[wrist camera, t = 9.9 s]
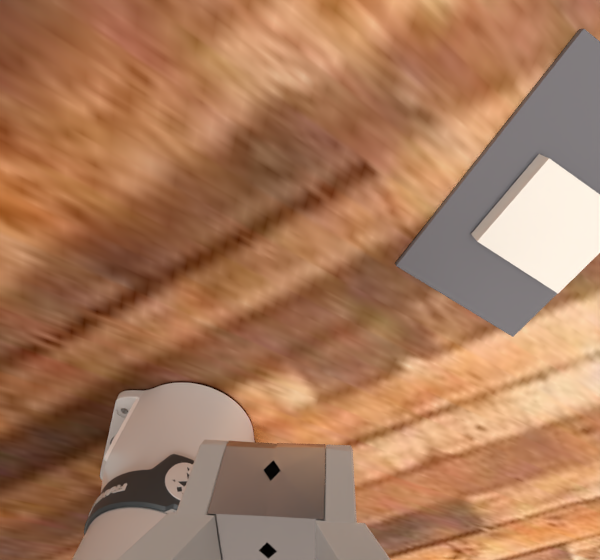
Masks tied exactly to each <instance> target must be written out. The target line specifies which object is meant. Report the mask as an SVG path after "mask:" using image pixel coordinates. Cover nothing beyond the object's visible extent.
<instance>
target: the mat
mask: <svg viewBox="0 0 600 560" xmlns="http://www.w3.org/2000/svg"><path fill="white" fill-rule="evenodd" d="M539 154H540V155H543V156H545V157H547V158H550V159H551V160H552V161H554V162H555V163H557V164H558V165H559V166H561V167H562V168H564V169H565V170H566V171H568V172H569V173H571V174H572V175H573V176H575V177H576V178H577V179H579V180H580V181H582V182H583V183H584V184H586V185H587V186H589V187H590V188H591V189H593V190H594V191H596V192H597V193H598V194H600V41H598V40H597V39H596V38H595V37H593V36H592V35H591V34H590V33H588V32H587V31H586V30H585V29H579V31H578V32H577V33H576V34H575V36H574V37H573V38H572V40H571V41H570V42H569V43H568V45H567V46H566V47H565V48H564V50H563V51H562V52H561V54H560V55H559V56H558V57H557V59H556V60H555V61H554V62H553V64H552V65H551V66H550V67H549V69H548V70H547V71H546V73H545V74H544V75H543V76H542V78H541V79H540V80H539V81H538V83H537V84H536V85H535V87H534V88H533V89H532V90H531V92H530V93H529V94H528V95H527V97H526V98H525V99H524V101H523V102H522V103H521V104H520V106H519V107H518V108H517V109H516V111H515V112H514V113H513V114H512V116H511V117H510V118H509V120H508V121H507V122H506V123H505V125H504V126H503V127H502V128H501V130H500V131H499V132H498V134H497V135H496V136H495V137H494V139H493V140H492V141H491V142H490V144H489V145H488V146H487V147H486V149H485V150H484V151H483V153H482V154H481V155H480V156H479V158H478V159H477V160H476V161H475V163H474V164H473V165H472V167H471V168H470V169H469V170H468V172H467V173H466V174H465V175H464V177H463V178H462V179H461V181H460V182H459V183H458V184H457V186H456V187H455V188H454V189H453V191H452V192H451V193H450V194H449V196H448V197H447V198H446V200H445V201H444V202H443V203H442V205H441V206H440V207H439V208H438V210H437V211H436V212H435V214H434V215H433V216H432V217H431V219H430V220H429V221H428V222H427V224H426V225H425V226H424V227H423V229H422V230H421V231H420V233H419V234H418V235H417V236H416V238H415V239H414V240H413V241H412V243H411V244H410V245H409V247H408V248H407V249H406V250H405V252H404V253H403V254H402V255H401V257H400V258H399V259H398V261H397V262H396V263H395V264H396V266H397V267H399V268H401V269H402V270H404V271H405V272H407V273H409V274H410V275H412V276H414V277H415V278H417V279H419V280H420V281H422V282H424V283H425V284H427V285H429V286H430V287H432V288H433V289H435V290H437V291H438V292H440V293H442V294H443V295H445V296H447V297H448V298H450V299H452V300H453V301H455V302H457V303H458V304H460V305H462V306H463V307H465V308H466V309H468V310H470V311H471V312H473V313H475V314H476V315H478V316H480V317H481V318H483V319H485V320H486V321H488V322H490V323H491V324H493V325H494V326H496V327H498V328H499V329H501V330H503V331H504V332H506V333H508V334H509V335H511V336H514V335H515V334H516V333H517V332H518V331H519V330H520V329H521V328H523V327H524V326H525V325H526V324H527V323H528V322H529V321H530V320H531V319H532V318H533V317H534V316H535V315H536V314H537V313H538V312H539V311H540V310H541V309H542V308H543V307H544V306H545V305H546V304H547V303H548V302H549V301H550V300H551V299H552V298H553V297H554V296H555V295H556V294H557V293H556V292H555V291H553V290H552V289H550V288H549V287H547V286H545V285H544V284H542V283H541V282H539V281H538V280H536V279H535V278H533V277H531V276H530V275H528V274H527V273H525V272H524V271H522V270H521V269H519V268H518V267H516V266H514V265H513V264H511V263H510V262H508V261H507V260H505V259H504V258H502V257H500V256H499V255H497V254H496V253H494V252H493V251H491V250H490V249H488V248H487V247H485V246H483V245H482V244H480V243H479V242H477V241H476V239H475V238H474V237H473V236H472V235H471V233H472V232H473V231H474V230H475V229H476V228H477V226H478V225H479V224H480V223H481V222H482V220H483V219H484V218H485V217H486V216H487V215H488V213H489V212H490V211H491V210H492V209H493V208H494V206H495V205H496V204H497V203H498V202H499V200H500V199H501V198H502V197H503V196H504V195H505V193H506V192H507V191H508V190H509V189H510V188H511V186H512V185H513V184H514V183H515V182H516V180H517V179H518V178H519V177H520V176H521V175H522V173H523V172H524V171H525V170H526V169H527V168H528V166H529V165H530V164H531V163H532V162H533V160H534V159H535V158H536V157H537V156H538V155H539Z"/></svg>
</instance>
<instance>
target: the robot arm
mask: <svg viewBox="0 0 600 560" xmlns="http://www.w3.org/2000/svg"><path fill="white" fill-rule="evenodd" d="M325 455H326V464H325ZM100 478H101V480H102V487H101V494H100V496H99V497H98V498H97V500H96V501H95V503H94V505H93V507H92V509H91V511H90V513H89V517H88V520H87V522H86V524H85V528H84V537H83V539H82V541H81V543H80V545H79V547H78V549H77V551H76V553H75V554H74V556H73V558H72V560H390V558H389V557H388V555H387V554H386V553H385V551H384V550H383V548H382V547H381V545H380V544H379V543H378V541H377V540H376V538H375V537H374V536H373V534H372V533H371V531H370V530H369V529H368V527H367V526H366V524H365V523H357V521H356V503H355V485H354V467H353V450H352V447H351V446H349V445H326V451H325V444H289V443H277V444H272V443H257V442H255V440H254V433H253V427H252V424H251V422H250V420H249V418H248V416H247V414H246V413H245V411H244V410H243V409H242V408H241V407H240V406H239V405H238V404H237V403H236V402H235V401H234V400H232V399H231V398H230V397H228V396H227V395H225V394H223V393H222V392H220V391H218V390H215V389H213V388H210V387H207V386H204V385H200V384H194V383H183V382H182V383H170V384H165V385H161V386H158V387H155V388H153V389H150V390H145V391H141V390H128V391H123V392H121V393H120V394H119V395H118V397H117V400H116V402H115V407H114V411H113V416H112V420H111V425H110V430H109V434H108V439H107V443H106V448H105V452H104V457H103V462H102V466H101V471H100Z"/></svg>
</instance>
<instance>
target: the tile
mask: <svg viewBox="0 0 600 560" xmlns="http://www.w3.org/2000/svg"><path fill="white" fill-rule="evenodd" d="M471 235H472V236H473V237H474V238H475V239H476V241H477V242H479V243H480V244H482V245H483V246H485V247H487V248H488V249H490V250H491V251H493V252H494V253H496V254H497V255H499V256H500V257H502V258H504V259H505V260H507V261H508V262H510V263H511V264H513V265H514V266H516V267H518V268H519V269H521V270H522V271H524V272H525V273H527V274H528V275H530V276H531V277H533V278H535V279H536V280H538V281H539V282H541V283H542V284H544V285H545V286H547V287H549V288H550V289H552V290H553V291H555V292H556V293H559V292H560V291H561V290H562V289H563V288H564V287H565V286H566V285H567V284H568V283H569V282H570V281H571V280H572V279H573V278H574V277H575V276H576V275H577V274H578V273H579V272H581V271H582V270H583V269H584V268H585V267H586V266H587V265H588V264H589V263H590V262H591V261H592V260H593V259H594V258H595V257H596V256H597V255H598V254H599V253H600V194H598V193H597V192H596V191H594V190H593V189H591V188H590V187H589V186H587V185H586V184H584V183H583V182H582V181H580V180H579V179H577V178H576V177H575V176H573V175H572V174H571V173H569V172H568V171H566V170H565V169H564V168H562V167H561V166H559V165H558V164H557V163H555V162H554V161H552V160H551V159H550V158H547V157H545V156H543V155H540V154H539V155H538V156H537V157H536V158H535V159H534V160H533V162H532V163H531V164H530V165H529V166H528V168H527V169H526V170H525V171H524V172H523V173H522V175H521V176H520V177H519V178H518V179H517V180H516V182H515V183H514V184H513V185H512V186H511V188H510V189H509V190H508V191H507V192H506V193H505V195H504V196H503V197H502V198H501V199H500V200H499V202H498V203H497V204H496V205H495V206H494V208H493V209H492V210H491V211H490V212H489V213H488V215H487V216H486V217H485V218H484V219H483V220H482V222H481V223H480V224H479V225H478V226H477V228H476V229H475V230H474V231H473V232H472V233H471Z"/></svg>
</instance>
